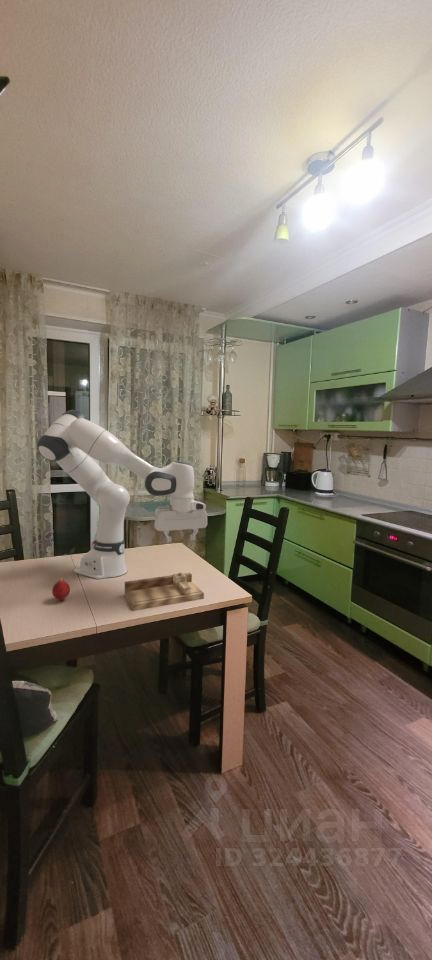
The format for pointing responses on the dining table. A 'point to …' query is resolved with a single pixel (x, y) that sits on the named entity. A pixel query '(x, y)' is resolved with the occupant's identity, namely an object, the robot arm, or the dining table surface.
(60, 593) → the onion
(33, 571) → the dining table surface
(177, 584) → the gauge
